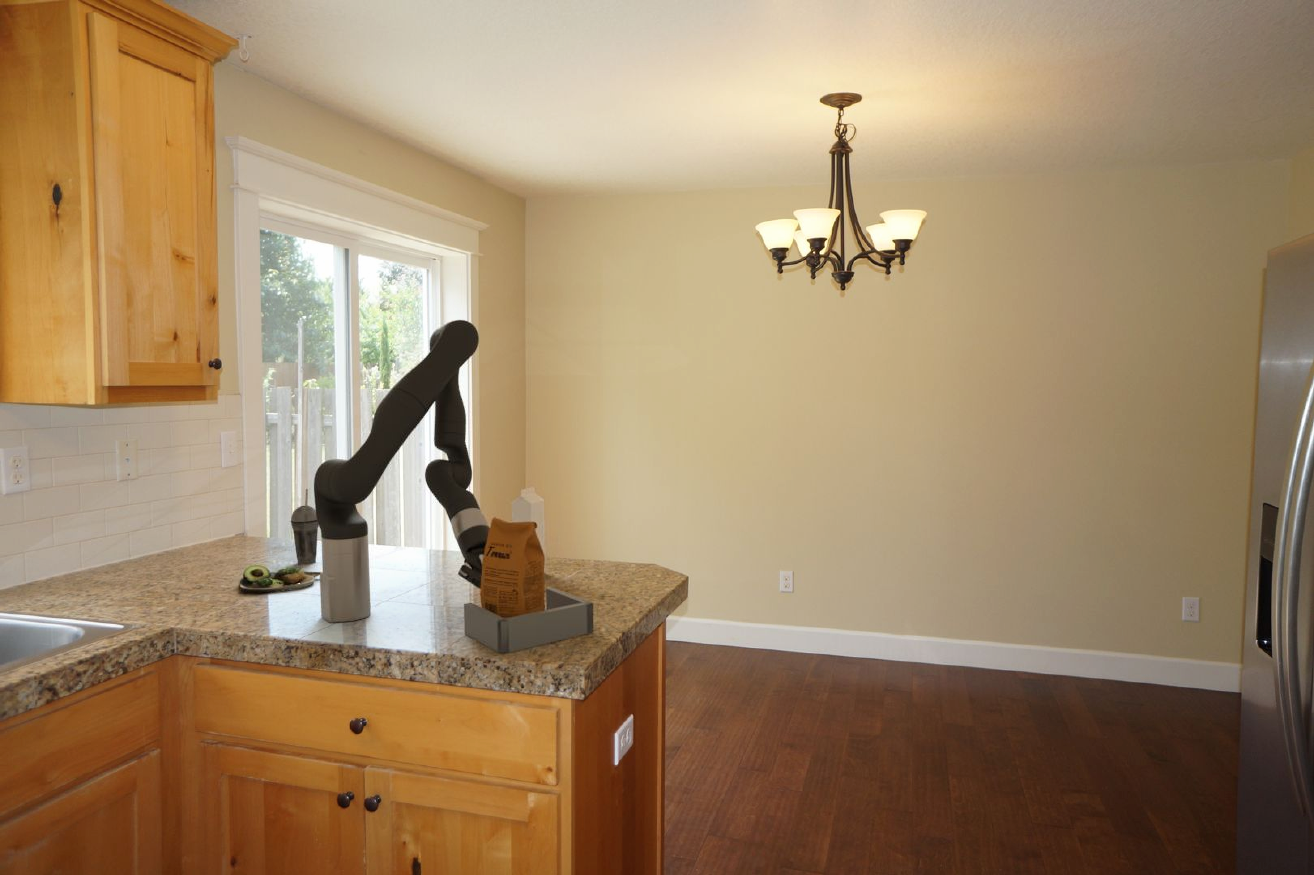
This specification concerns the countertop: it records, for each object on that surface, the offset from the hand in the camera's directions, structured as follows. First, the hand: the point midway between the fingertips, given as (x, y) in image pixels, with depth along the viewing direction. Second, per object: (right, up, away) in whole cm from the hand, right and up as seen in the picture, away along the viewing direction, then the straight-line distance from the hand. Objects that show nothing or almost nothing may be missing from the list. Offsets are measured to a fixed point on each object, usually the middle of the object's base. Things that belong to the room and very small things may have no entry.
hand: (501, 601), depth 177 cm
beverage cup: (-63, 0, +55) cm, 83 cm away
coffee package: (+3, -4, -6) cm, 8 cm away
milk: (0, -1, +39) cm, 39 cm away
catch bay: (+7, -4, -9) cm, 12 cm away
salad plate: (-61, -2, +31) cm, 68 cm away
